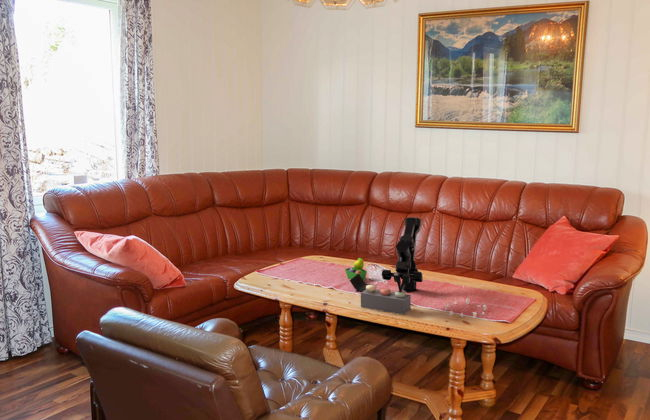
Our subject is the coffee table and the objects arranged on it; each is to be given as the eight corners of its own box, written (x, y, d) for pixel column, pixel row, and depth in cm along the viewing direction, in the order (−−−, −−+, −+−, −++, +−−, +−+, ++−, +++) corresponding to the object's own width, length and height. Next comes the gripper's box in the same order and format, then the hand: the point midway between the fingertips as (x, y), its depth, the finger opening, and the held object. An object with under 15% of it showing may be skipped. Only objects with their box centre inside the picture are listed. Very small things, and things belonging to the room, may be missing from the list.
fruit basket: (344, 278, 319) (343, 258, 317) (356, 274, 324) (356, 255, 322) (357, 283, 310) (356, 262, 308) (369, 279, 315) (369, 259, 313)
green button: (402, 298, 271) (402, 290, 270) (407, 301, 267) (407, 293, 266) (393, 300, 269) (393, 291, 268) (398, 303, 265) (398, 294, 264)
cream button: (373, 292, 278) (373, 284, 278) (377, 295, 274) (377, 287, 273) (364, 293, 277) (364, 285, 276) (368, 296, 272) (368, 288, 271)
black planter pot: (372, 290, 293) (359, 272, 295) (360, 298, 295) (347, 281, 297) (377, 285, 305) (365, 268, 307) (365, 294, 307) (353, 277, 309)
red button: (387, 296, 275) (387, 287, 274) (392, 299, 270) (392, 290, 270) (378, 297, 273) (378, 289, 272) (383, 300, 269) (383, 292, 268)
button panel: (360, 306, 275) (360, 292, 273) (368, 301, 281) (368, 288, 280) (403, 314, 264) (403, 300, 262) (410, 309, 270) (410, 294, 269)
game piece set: (454, 300, 281) (454, 293, 280) (494, 309, 269) (494, 301, 268) (435, 312, 266) (435, 304, 266) (476, 322, 254) (476, 314, 253)
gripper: (382, 253, 271) (377, 282, 263) (422, 255, 266) (419, 285, 258) (385, 264, 280) (381, 293, 272) (424, 266, 275) (420, 296, 267)
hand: (400, 292), depth 267 cm, fingers closed, pressing on green button
